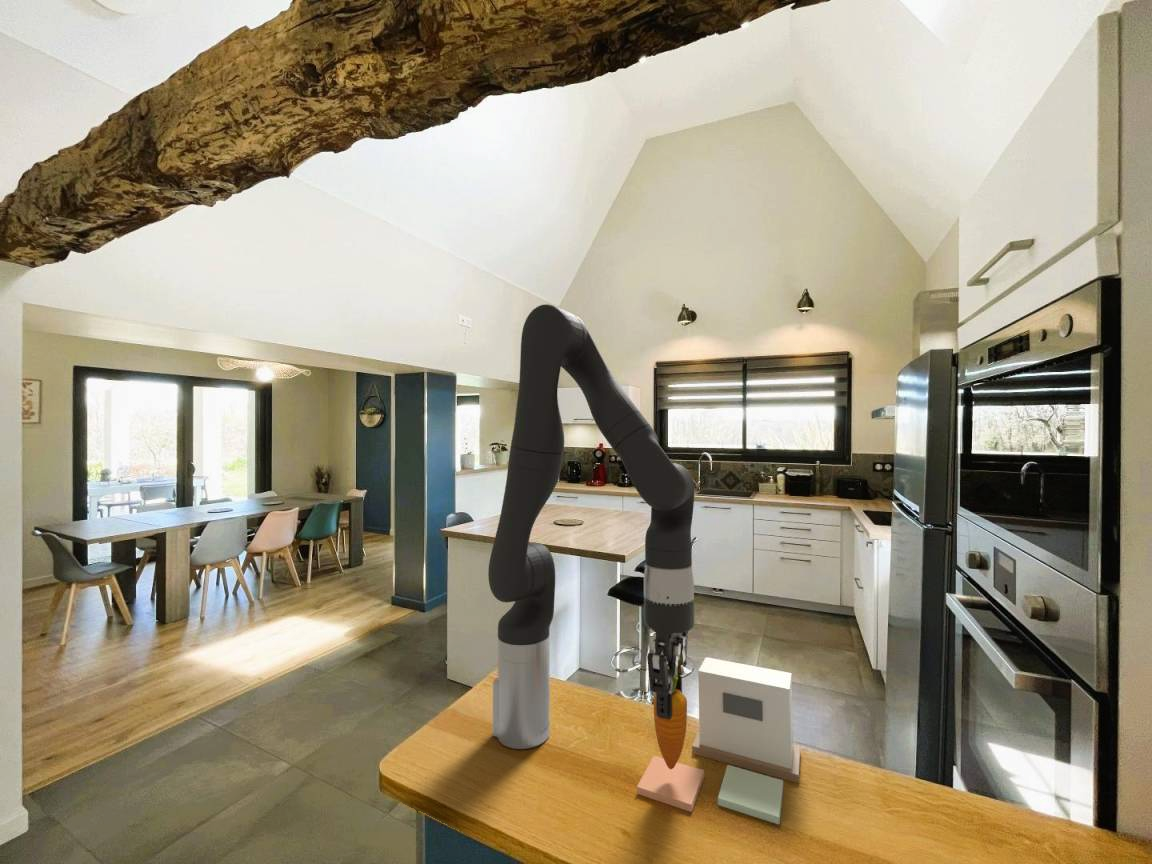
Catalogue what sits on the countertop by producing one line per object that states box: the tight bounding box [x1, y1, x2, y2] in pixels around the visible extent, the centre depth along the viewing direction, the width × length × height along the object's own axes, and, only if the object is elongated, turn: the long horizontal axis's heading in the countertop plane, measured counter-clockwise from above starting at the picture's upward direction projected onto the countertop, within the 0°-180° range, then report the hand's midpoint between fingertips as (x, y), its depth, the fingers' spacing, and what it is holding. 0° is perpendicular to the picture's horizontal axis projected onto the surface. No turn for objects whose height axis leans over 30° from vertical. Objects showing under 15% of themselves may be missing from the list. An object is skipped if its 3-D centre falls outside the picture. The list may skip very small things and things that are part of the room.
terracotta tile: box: [636, 755, 705, 813], centre depth 71 cm, size 8×8×1 cm
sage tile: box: [717, 764, 784, 826], centre depth 69 cm, size 8×8×1 cm
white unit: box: [691, 656, 801, 784], centre depth 79 cm, size 16×8×13 cm, turn 63°
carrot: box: [653, 666, 688, 769], centre depth 72 cm, size 5×5×15 cm
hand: (669, 707), depth 72 cm, fingers open, 5 cm apart
